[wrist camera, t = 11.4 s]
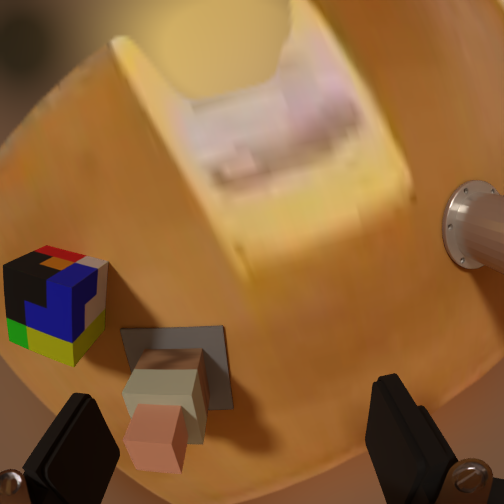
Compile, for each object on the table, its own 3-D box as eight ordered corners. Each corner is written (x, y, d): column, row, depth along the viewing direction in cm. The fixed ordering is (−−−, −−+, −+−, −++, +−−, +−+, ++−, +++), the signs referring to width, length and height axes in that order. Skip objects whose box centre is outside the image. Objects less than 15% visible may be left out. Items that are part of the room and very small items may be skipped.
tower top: (197, 369, 36) (191, 395, 31) (206, 417, 38) (203, 444, 33) (134, 369, 36) (121, 393, 31) (148, 416, 38) (140, 441, 33)
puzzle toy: (108, 261, 38) (71, 287, 29) (104, 329, 41) (74, 367, 31) (47, 245, 38) (2, 265, 28) (46, 310, 40) (9, 340, 30)
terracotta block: (181, 405, 31) (171, 444, 26) (188, 436, 33) (181, 473, 27) (137, 403, 31) (122, 439, 26) (148, 433, 33) (136, 469, 27)
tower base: (202, 348, 41) (197, 369, 36) (210, 394, 43) (206, 417, 38) (144, 349, 41) (134, 369, 36) (156, 394, 43) (148, 416, 38)
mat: (222, 325, 40) (222, 326, 40) (233, 407, 44) (233, 409, 43) (120, 328, 40) (119, 329, 40) (143, 406, 44) (142, 408, 43)
